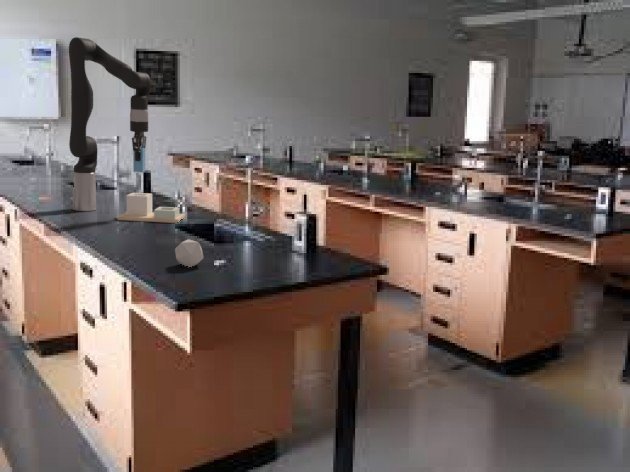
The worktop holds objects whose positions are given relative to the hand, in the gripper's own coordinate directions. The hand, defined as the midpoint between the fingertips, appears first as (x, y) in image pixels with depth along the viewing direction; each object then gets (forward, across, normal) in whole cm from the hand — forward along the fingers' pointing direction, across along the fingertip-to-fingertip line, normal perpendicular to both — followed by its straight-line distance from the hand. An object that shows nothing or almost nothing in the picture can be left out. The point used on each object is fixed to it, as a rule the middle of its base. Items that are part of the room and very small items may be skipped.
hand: (139, 160), depth 276 cm
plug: (+5, 0, 0) cm, 5 cm away
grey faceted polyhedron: (+25, +78, +38) cm, 90 cm away
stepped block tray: (+25, +2, +6) cm, 26 cm away
